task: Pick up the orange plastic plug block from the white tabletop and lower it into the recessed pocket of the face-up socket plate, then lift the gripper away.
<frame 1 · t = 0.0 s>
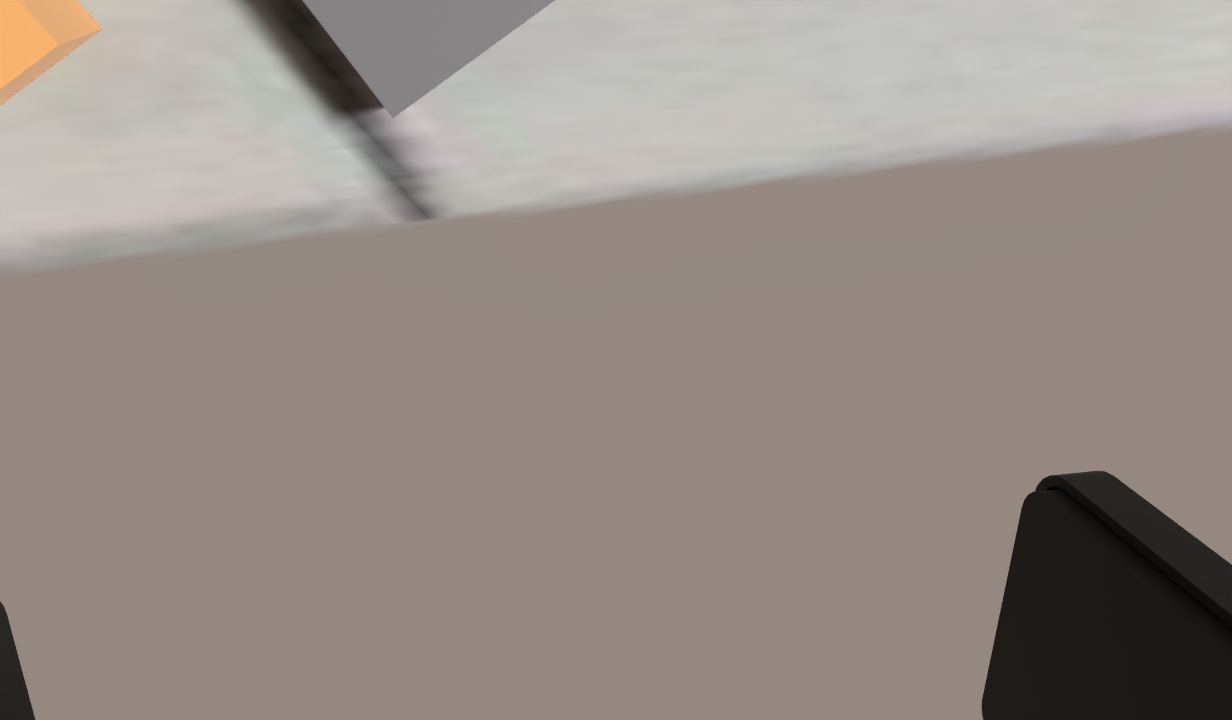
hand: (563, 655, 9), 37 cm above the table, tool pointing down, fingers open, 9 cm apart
plug: (1, 20, 39), on the table
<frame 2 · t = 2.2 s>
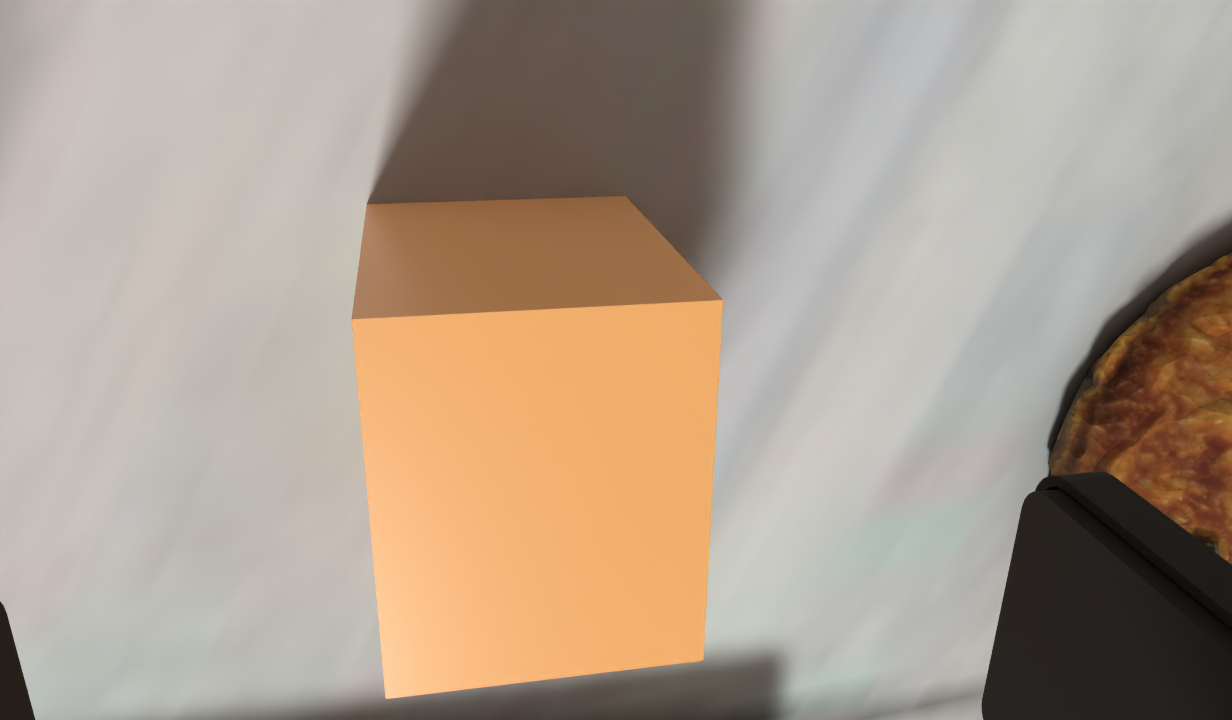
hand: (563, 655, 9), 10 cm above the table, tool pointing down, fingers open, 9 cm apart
plug: (503, 346, 19), on the table
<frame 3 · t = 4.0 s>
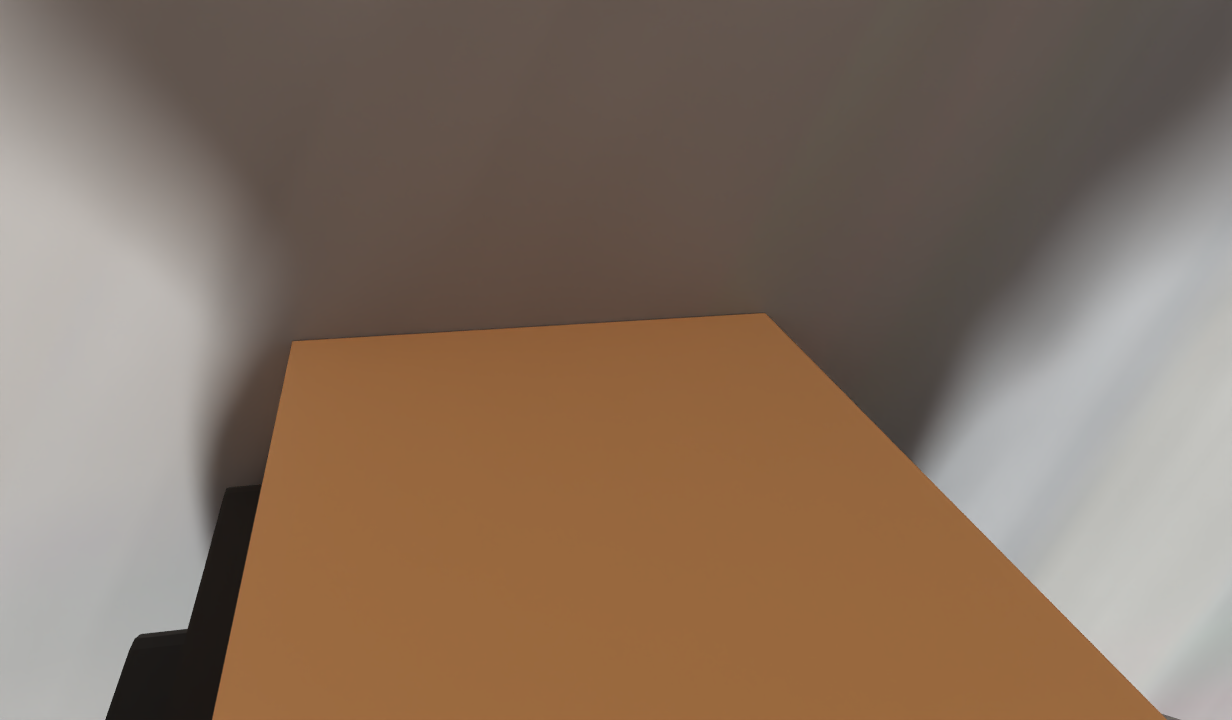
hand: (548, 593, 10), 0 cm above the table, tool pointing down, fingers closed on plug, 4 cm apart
plug: (542, 569, 11), on the table, touching gripper
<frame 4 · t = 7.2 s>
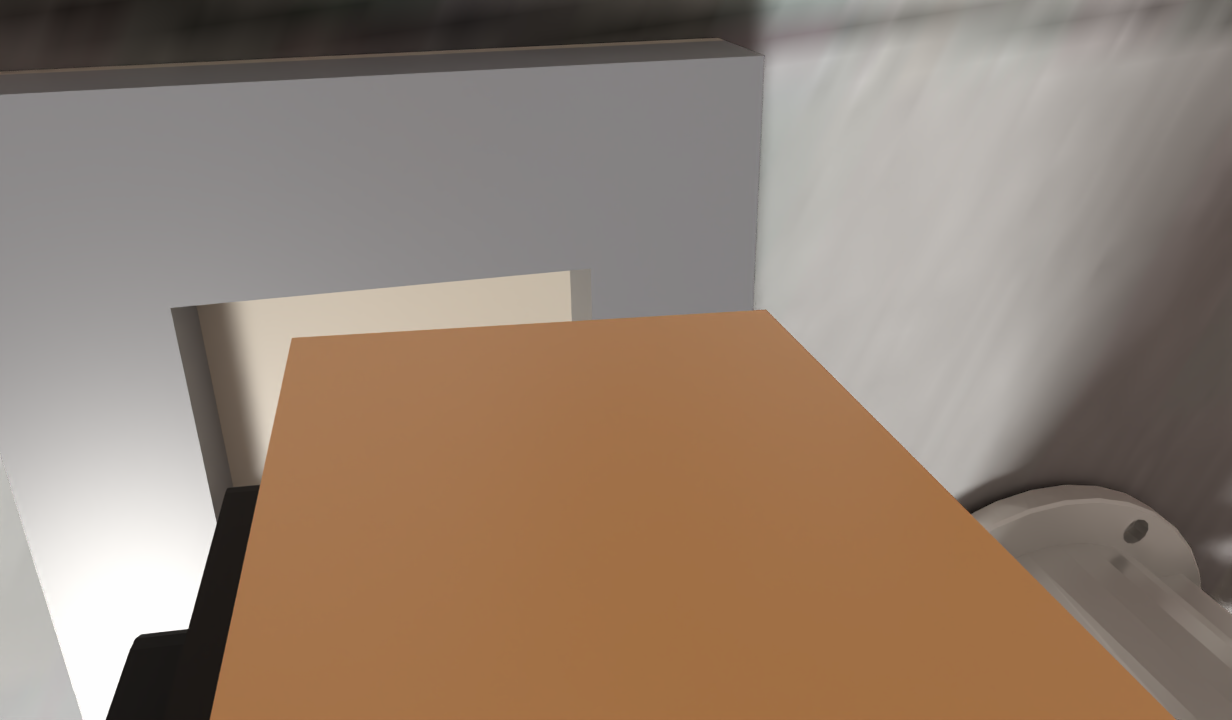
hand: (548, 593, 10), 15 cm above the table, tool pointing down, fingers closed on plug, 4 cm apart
plug: (543, 567, 11), point 14 cm above the table, touching gripper
socket plate: (401, 387, 25), on the table
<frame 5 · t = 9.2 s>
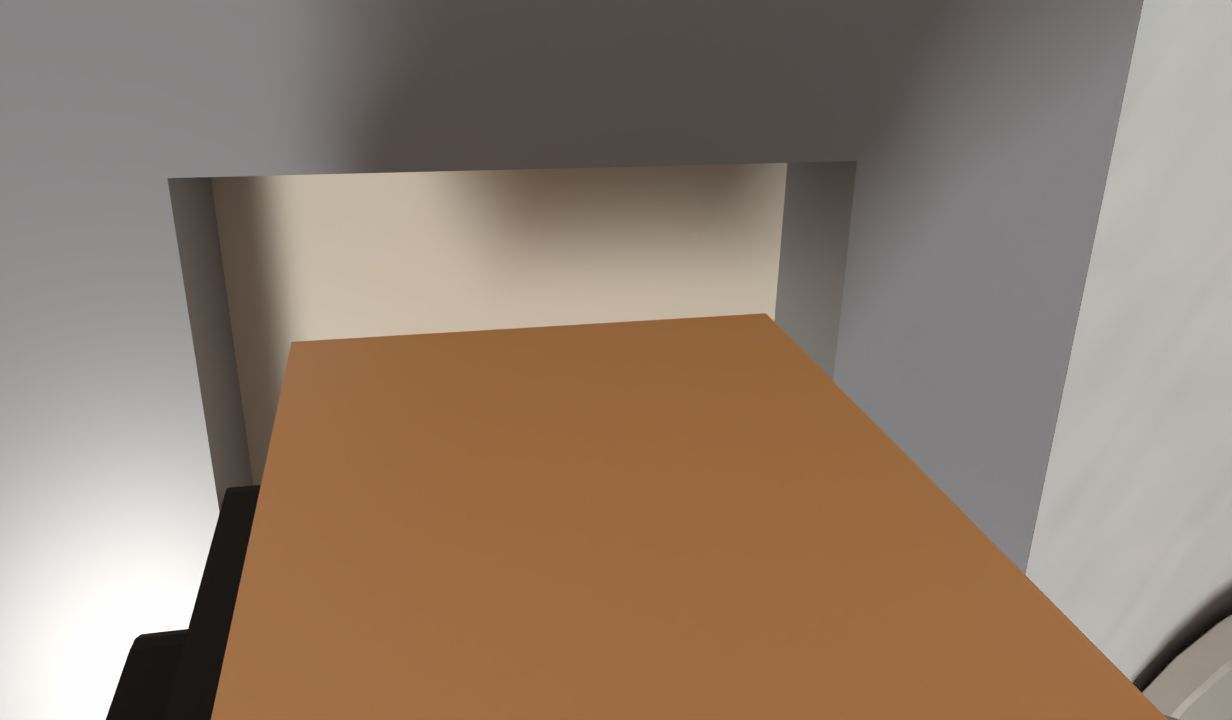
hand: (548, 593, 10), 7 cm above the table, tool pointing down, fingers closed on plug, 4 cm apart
plug: (542, 570, 11), point 6 cm above the table, touching gripper
socket plate: (515, 357, 17), on the table
when the fingers open (3 cm above the table, at t = 10.7 s): plug drops 2 cm, resting on socket plate.
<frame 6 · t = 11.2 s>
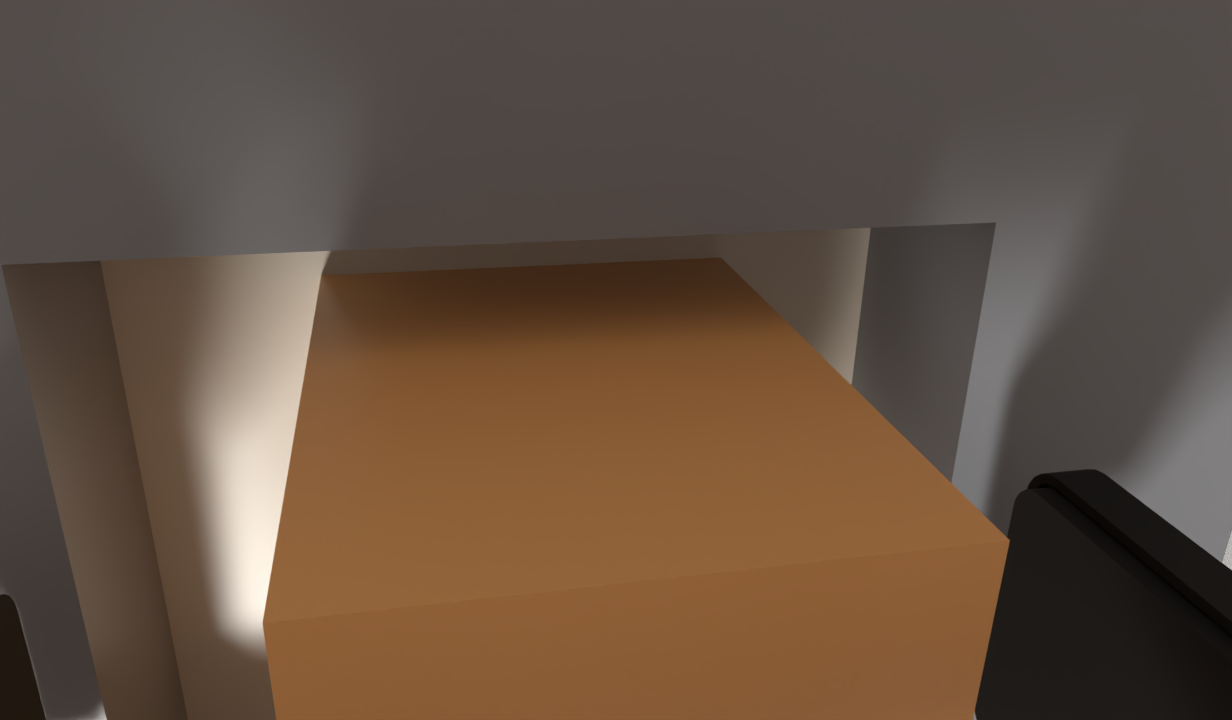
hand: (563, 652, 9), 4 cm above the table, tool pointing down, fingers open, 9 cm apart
plug: (531, 480, 12), resting on socket plate
socket plate: (514, 459, 13), on the table
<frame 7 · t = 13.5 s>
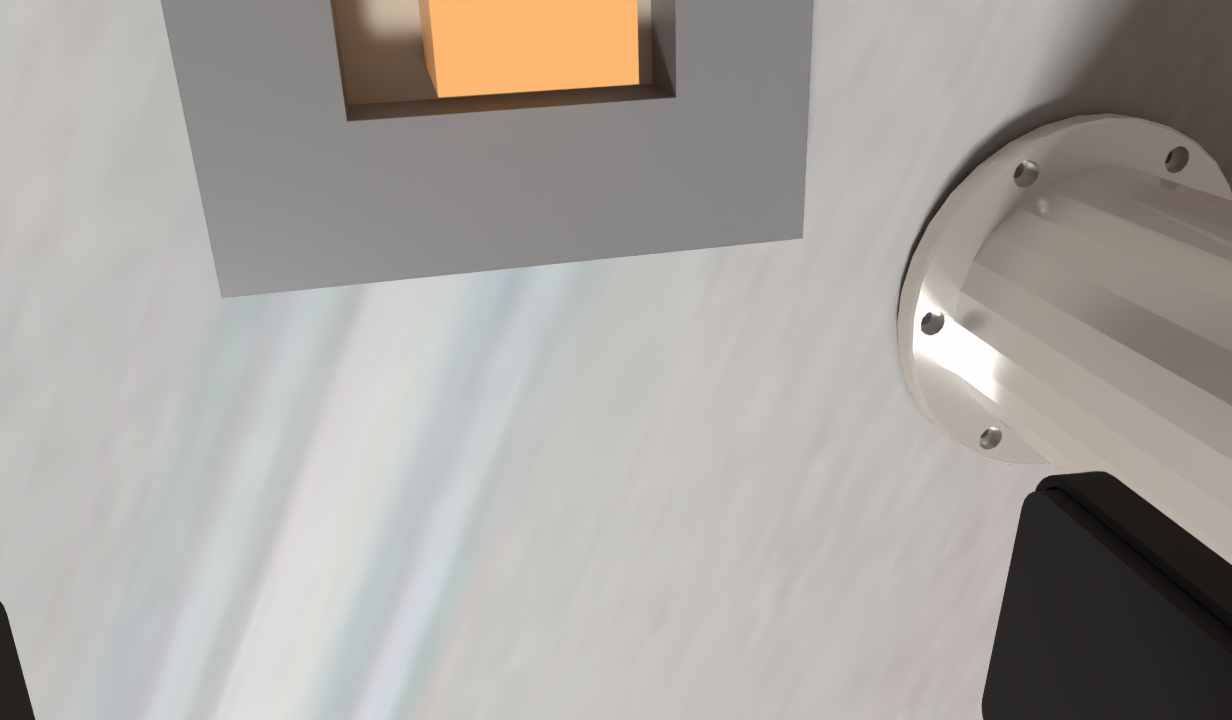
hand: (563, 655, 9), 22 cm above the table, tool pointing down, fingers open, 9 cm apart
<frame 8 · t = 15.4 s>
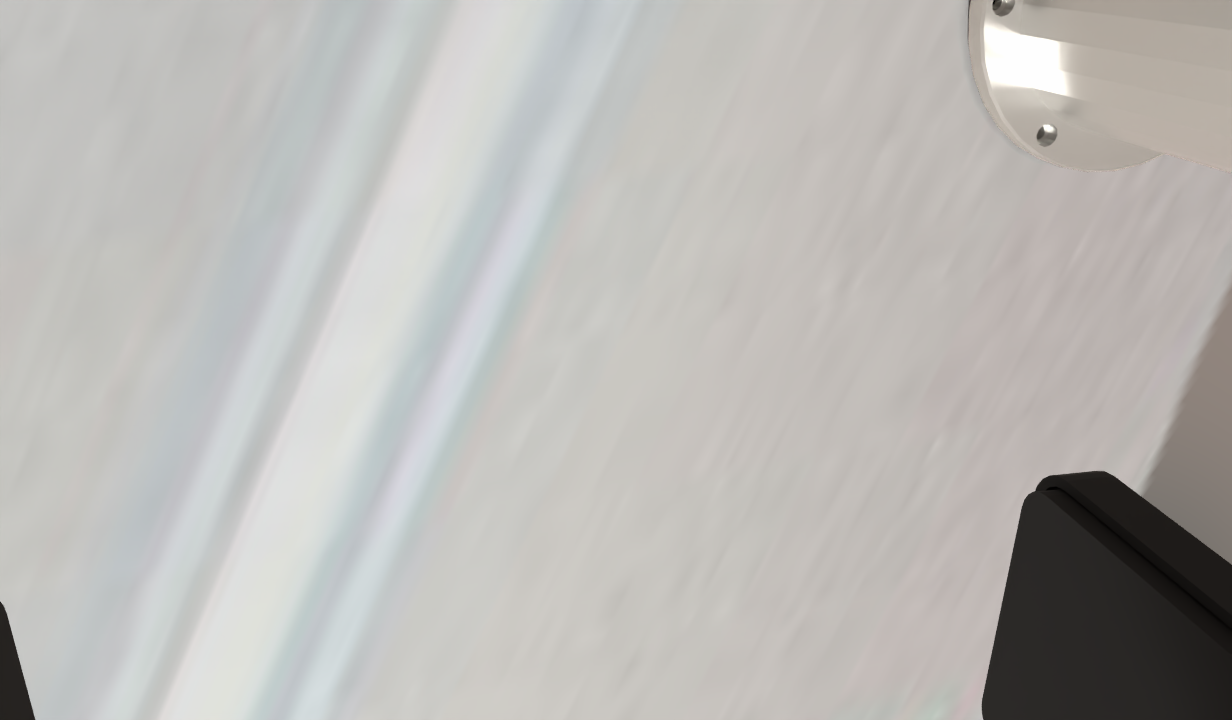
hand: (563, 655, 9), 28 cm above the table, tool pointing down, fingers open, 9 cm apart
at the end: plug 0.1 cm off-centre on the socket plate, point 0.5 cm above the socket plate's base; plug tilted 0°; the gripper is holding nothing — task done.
